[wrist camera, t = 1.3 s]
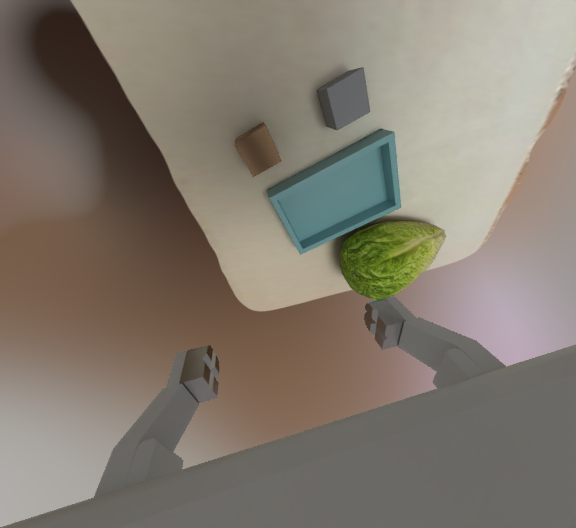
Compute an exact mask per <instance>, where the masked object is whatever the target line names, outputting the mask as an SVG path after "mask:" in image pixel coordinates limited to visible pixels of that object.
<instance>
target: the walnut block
mask: <svg viewBox="0 0 576 528" xmlns="http://www.w3.org/2000/svg"><path fill="white" fill-rule="evenodd" d="M235 146H236V148H237V149H238V151H239V153H240V155H241V156H242V158H243V160H244V162H245V163H246V165H247V167H248V169H249V171H250V172H251V174H252V176H253V177H254V176H256V175H258V174H259V173H261V172H263V171H265V170H267V169H268V168H270V167H272V166H274V165H276V164H277V163H279V162H281V161H282V160H281V158H280V156H279V154H278V152H277V149H276V147H275V145H274V143H273V140H272V138H271V136H270V134H269V131H268V129H267V127H266V125H265V123H264V122H263V123H261V124H259V125H258V126H256V127H254V128H253V129H251V130H249V131H248V132H246V133H244V134H243V135H241V136H239V137H238V138H236V140H235Z"/></svg>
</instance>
